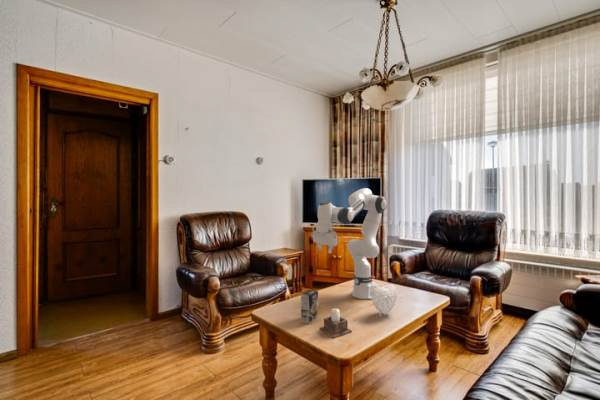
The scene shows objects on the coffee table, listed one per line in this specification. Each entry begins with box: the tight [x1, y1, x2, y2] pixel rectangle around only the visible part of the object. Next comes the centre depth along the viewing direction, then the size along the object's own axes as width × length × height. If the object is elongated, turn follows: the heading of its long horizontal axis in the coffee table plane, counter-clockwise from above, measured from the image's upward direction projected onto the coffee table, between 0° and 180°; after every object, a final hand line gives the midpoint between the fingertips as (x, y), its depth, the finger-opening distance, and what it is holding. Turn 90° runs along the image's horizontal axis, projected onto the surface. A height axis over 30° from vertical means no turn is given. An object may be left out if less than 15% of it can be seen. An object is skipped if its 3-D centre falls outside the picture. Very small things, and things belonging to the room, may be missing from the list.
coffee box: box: [300, 289, 319, 325], centre depth 169 cm, size 9×6×16 cm
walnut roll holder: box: [319, 316, 353, 339], centre depth 156 cm, size 12×12×6 cm
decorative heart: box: [371, 284, 398, 316], centre depth 177 cm, size 18×11×17 cm, turn 122°
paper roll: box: [330, 308, 341, 323], centre depth 156 cm, size 4×4×10 cm
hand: (324, 251), depth 179 cm, fingers open, 8 cm apart
